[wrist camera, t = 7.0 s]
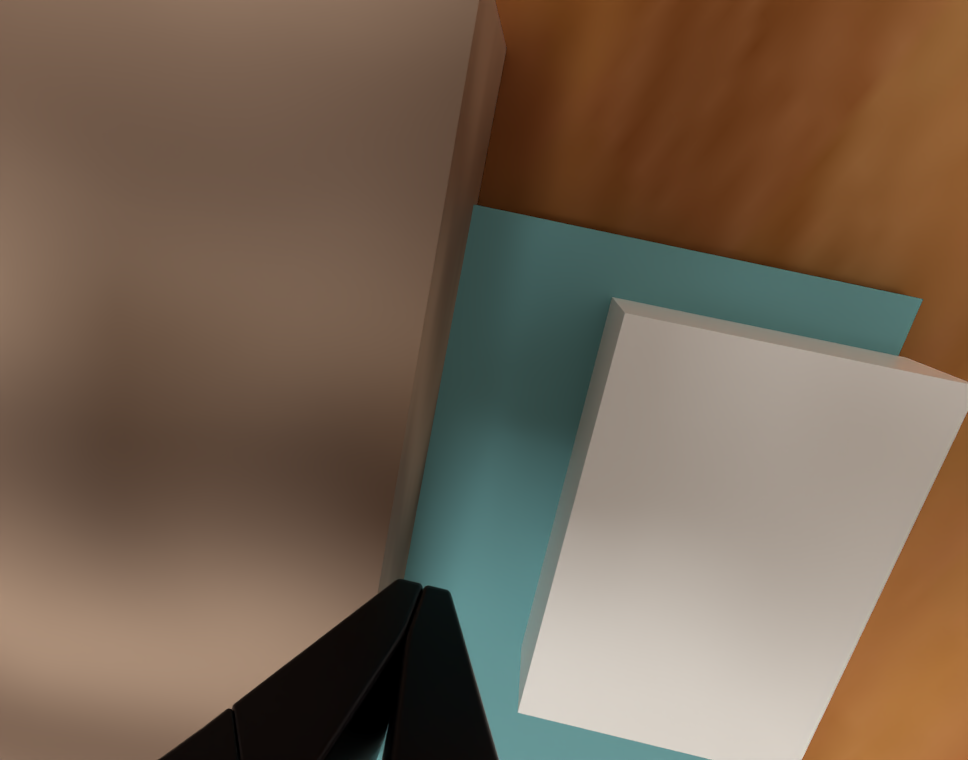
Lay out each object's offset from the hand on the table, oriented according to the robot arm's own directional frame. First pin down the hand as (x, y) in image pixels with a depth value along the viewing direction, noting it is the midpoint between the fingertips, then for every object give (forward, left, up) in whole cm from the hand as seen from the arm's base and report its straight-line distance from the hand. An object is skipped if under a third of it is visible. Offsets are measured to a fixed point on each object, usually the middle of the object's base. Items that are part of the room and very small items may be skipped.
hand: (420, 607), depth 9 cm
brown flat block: (0, +7, -5) cm, 9 cm away
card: (0, -5, -4) cm, 6 cm away
